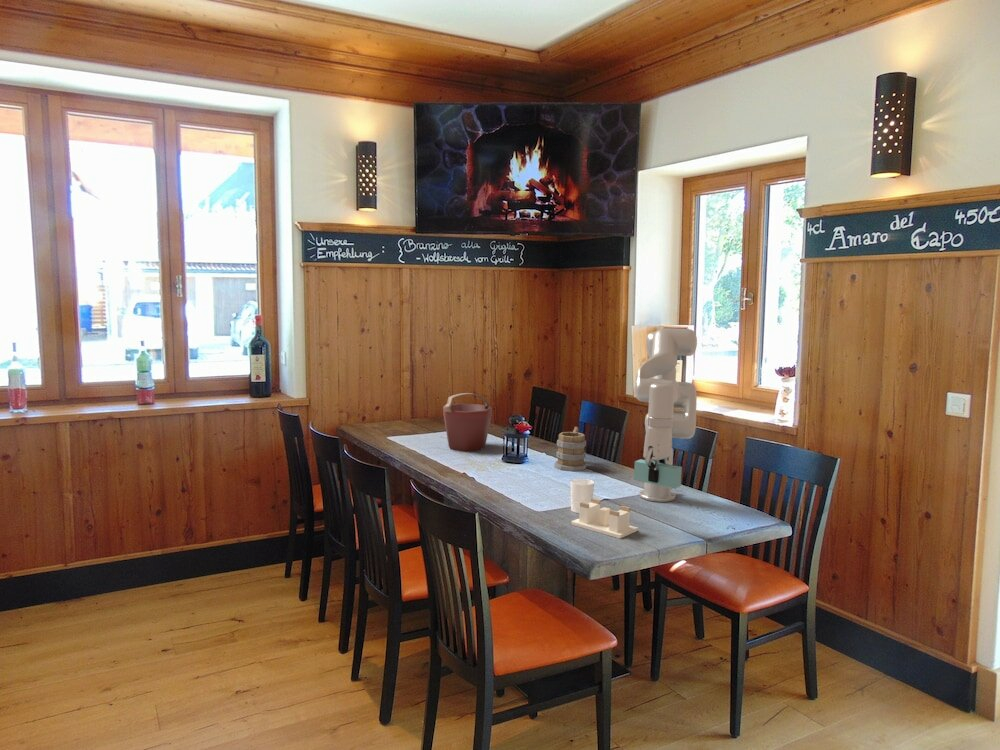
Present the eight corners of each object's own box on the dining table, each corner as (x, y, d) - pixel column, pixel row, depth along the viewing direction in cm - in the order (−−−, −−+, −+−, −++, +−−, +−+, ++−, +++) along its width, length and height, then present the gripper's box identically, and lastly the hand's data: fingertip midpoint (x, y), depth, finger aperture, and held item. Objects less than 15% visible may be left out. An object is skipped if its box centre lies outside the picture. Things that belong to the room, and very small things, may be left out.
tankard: (582, 472, 294) (583, 436, 292) (551, 469, 297) (553, 433, 296) (591, 461, 312) (593, 427, 311) (563, 458, 316) (564, 424, 314)
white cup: (591, 507, 247) (592, 478, 246) (594, 514, 239) (596, 485, 238) (567, 507, 247) (569, 478, 245) (570, 514, 239) (572, 484, 238)
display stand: (589, 517, 236) (590, 495, 235) (637, 530, 224) (638, 508, 223) (571, 524, 228) (571, 502, 228) (620, 538, 217) (621, 515, 216)
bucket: (447, 454, 319) (448, 398, 316) (432, 443, 339) (433, 390, 336) (499, 450, 328) (500, 396, 325) (481, 440, 348) (482, 389, 345)
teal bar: (639, 477, 232) (640, 459, 231) (680, 485, 224) (681, 466, 223) (633, 480, 229) (634, 461, 228) (675, 488, 221) (676, 469, 220)
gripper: (662, 417, 233) (659, 473, 235) (635, 424, 220) (632, 483, 222) (684, 421, 228) (680, 477, 230) (657, 428, 215) (654, 488, 218)
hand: (657, 479), depth 226 cm, fingers closed on teal bar, 4 cm apart
